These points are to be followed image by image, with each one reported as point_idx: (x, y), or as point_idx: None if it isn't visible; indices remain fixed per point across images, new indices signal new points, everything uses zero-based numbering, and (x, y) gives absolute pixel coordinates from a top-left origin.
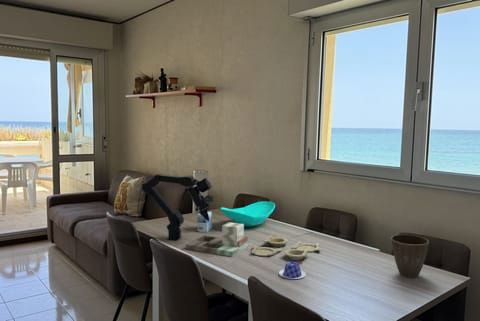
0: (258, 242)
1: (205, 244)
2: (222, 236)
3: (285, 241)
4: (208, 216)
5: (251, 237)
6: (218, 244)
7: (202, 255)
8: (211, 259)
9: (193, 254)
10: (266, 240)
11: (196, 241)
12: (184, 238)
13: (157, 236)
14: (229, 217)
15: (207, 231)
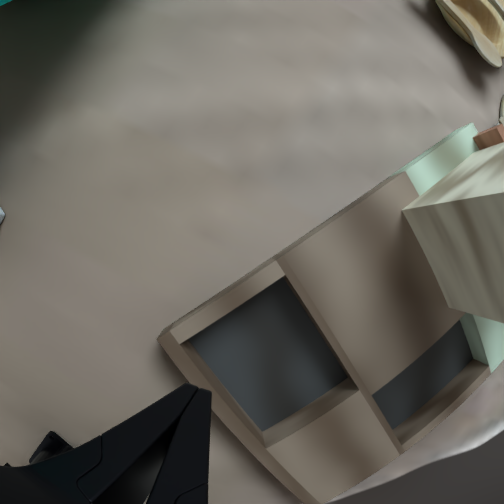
0: (417, 46)
1: (381, 413)
2: (487, 315)
3: (496, 13)
4: (209, 445)
5: (307, 8)
6: (441, 335)
7: (444, 435)
8: (497, 404)
9: (405, 470)
10: (492, 54)
11: (293, 454)
12: (79, 428)
13: None
14: (6, 2)
15: (2, 212)
